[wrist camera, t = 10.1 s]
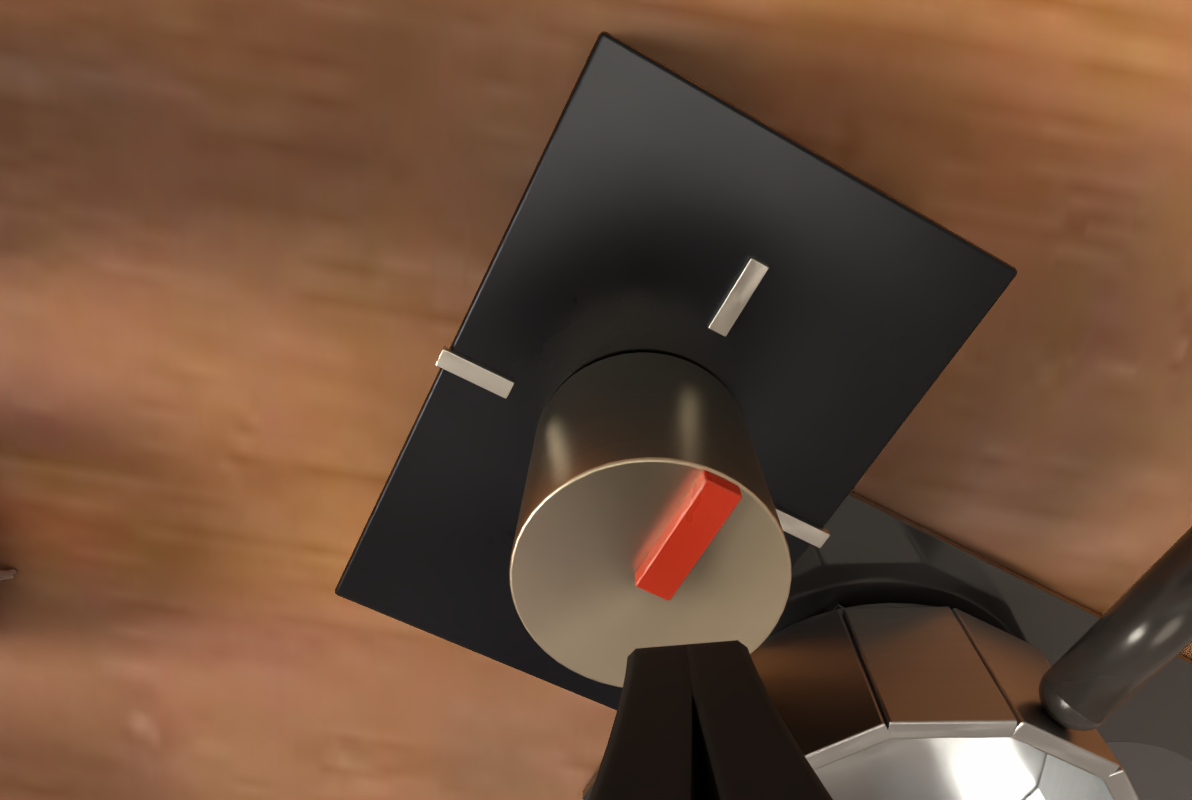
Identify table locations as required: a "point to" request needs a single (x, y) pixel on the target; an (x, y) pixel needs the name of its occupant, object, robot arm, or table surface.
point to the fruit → (7, 574)
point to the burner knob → (645, 519)
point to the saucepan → (970, 695)
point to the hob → (1002, 599)
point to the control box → (666, 333)
